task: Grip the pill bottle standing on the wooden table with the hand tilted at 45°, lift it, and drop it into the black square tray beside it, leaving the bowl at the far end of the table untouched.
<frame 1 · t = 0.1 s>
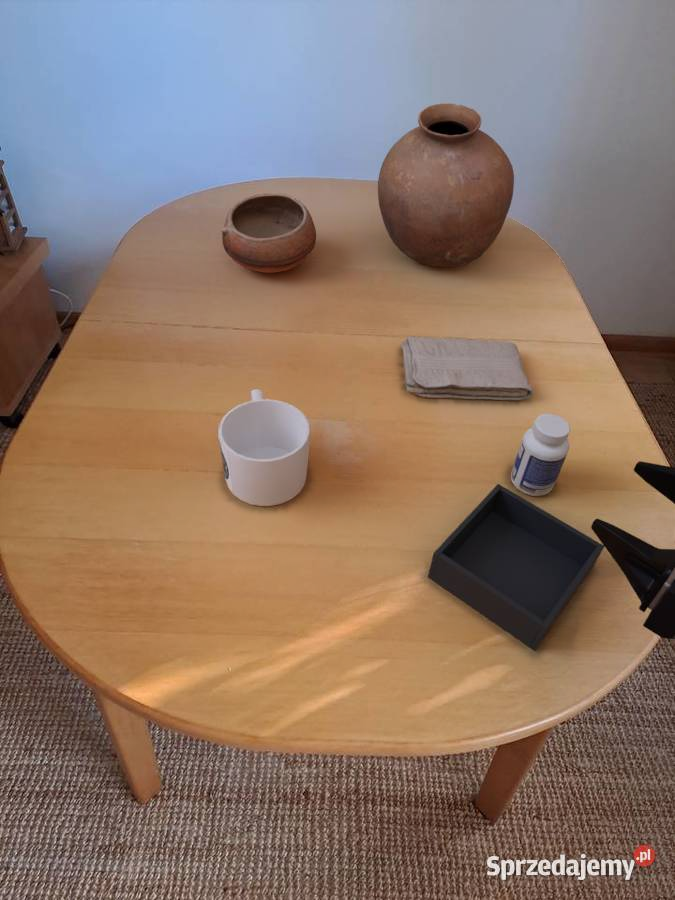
hand: (615, 492, 60), 17 cm above the table, tool horizontal, fingers open, 9 cm apart
pottery: (433, 255, 123), on the table
black square tray: (510, 573, 74), on the table
pill bottle: (531, 482, 84), on the table
bowl: (270, 263, 118), on the table
mug: (264, 469, 83), on the table
washcloth: (462, 375, 99), on the table
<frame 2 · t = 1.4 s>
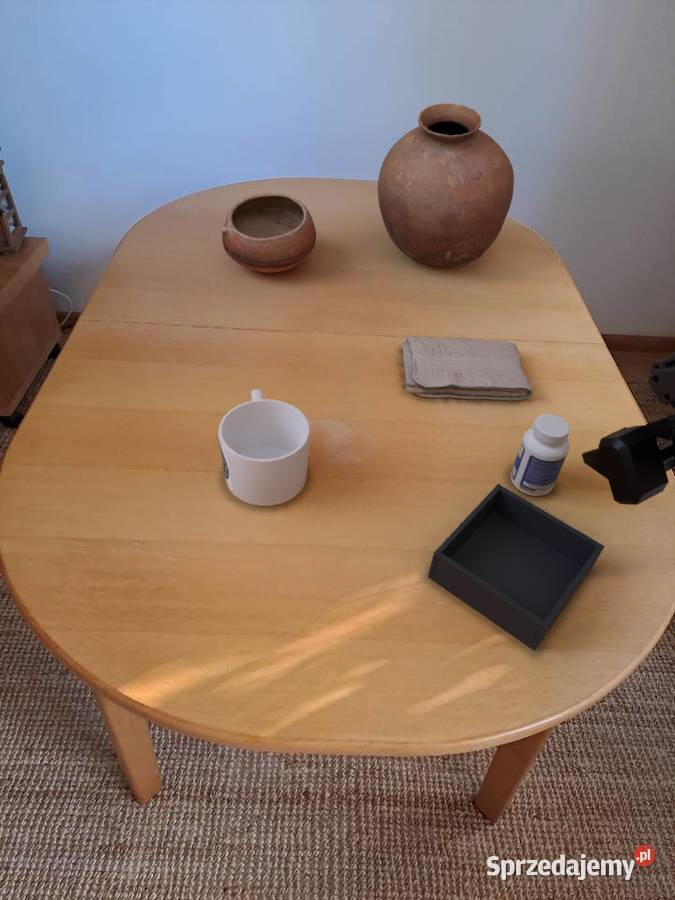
hand: (616, 443, 69), 14 cm above the table, tool tilted 45°, fingers open, 9 cm apart
nothing on the table moved.
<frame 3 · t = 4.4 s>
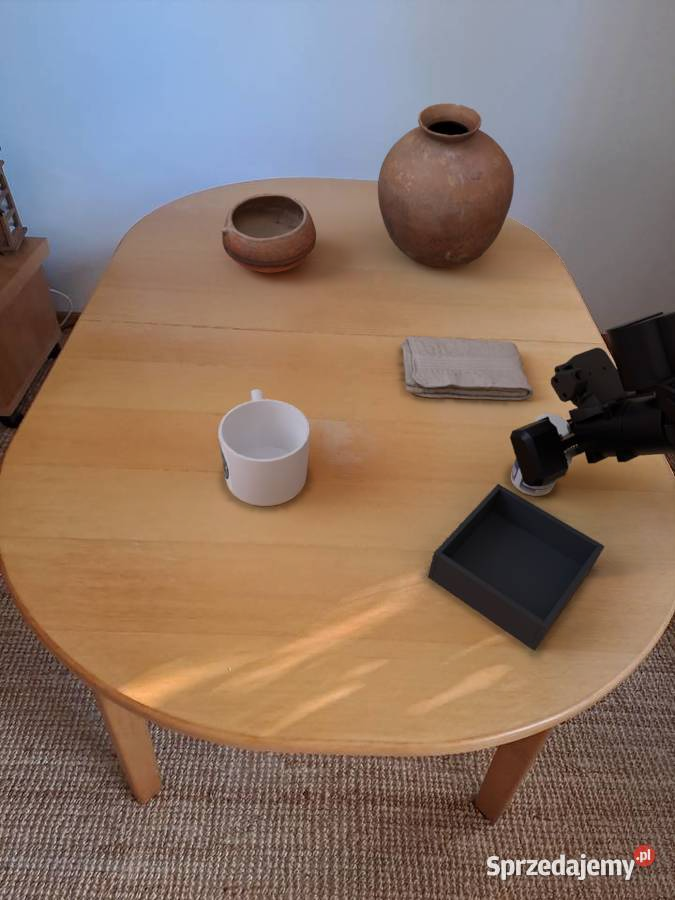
hand: (537, 436, 80), 7 cm above the table, tool tilted 45°, fingers closed on pill bottle, 5 cm apart
pill bottle: (531, 482, 84), on the table, touching gripper
everything else where it was.
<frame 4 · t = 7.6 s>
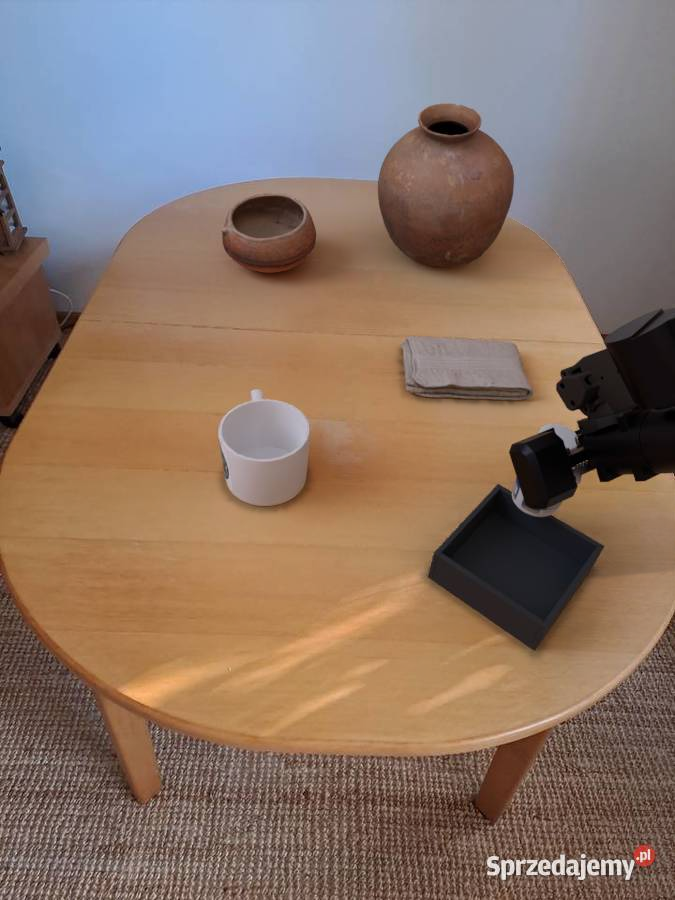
hand: (542, 450, 71), 12 cm above the table, tool tilted 45°, fingers closed on pill bottle, 5 cm apart
pill bottle: (534, 501, 74), point 5 cm above the table, touching gripper
everything else where it was.
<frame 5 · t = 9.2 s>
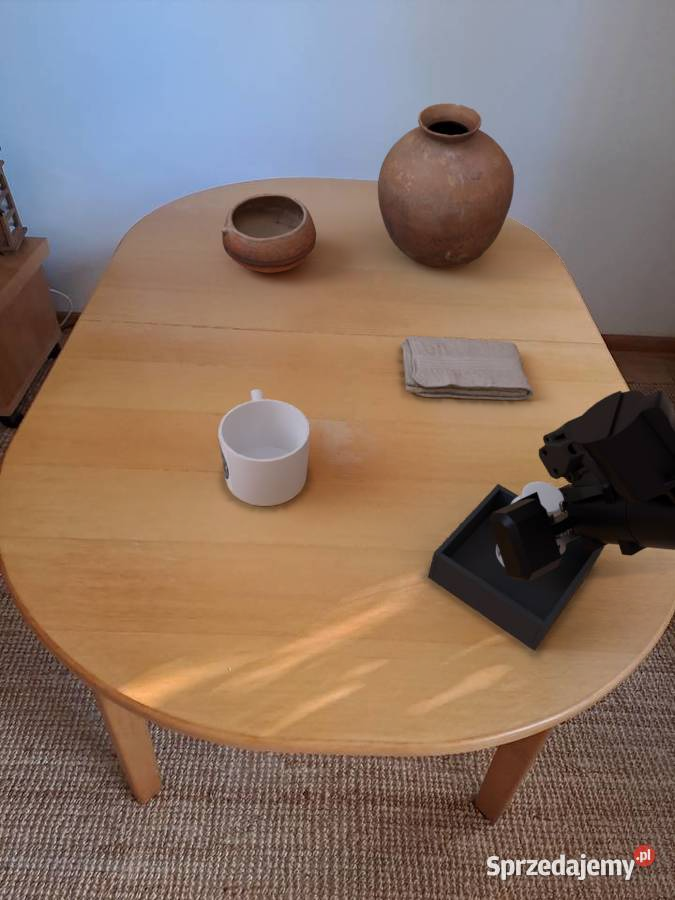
hand: (526, 507, 68), 10 cm above the table, tool tilted 45°, fingers closed on pill bottle, 5 cm apart
pill bottle: (519, 557, 72), point 3 cm above the table, touching gripper
everything else where it was.
when the fingers open (7 cm above the table, at t = 10.6 s): pill bottle stays where it is, resting on black square tray.
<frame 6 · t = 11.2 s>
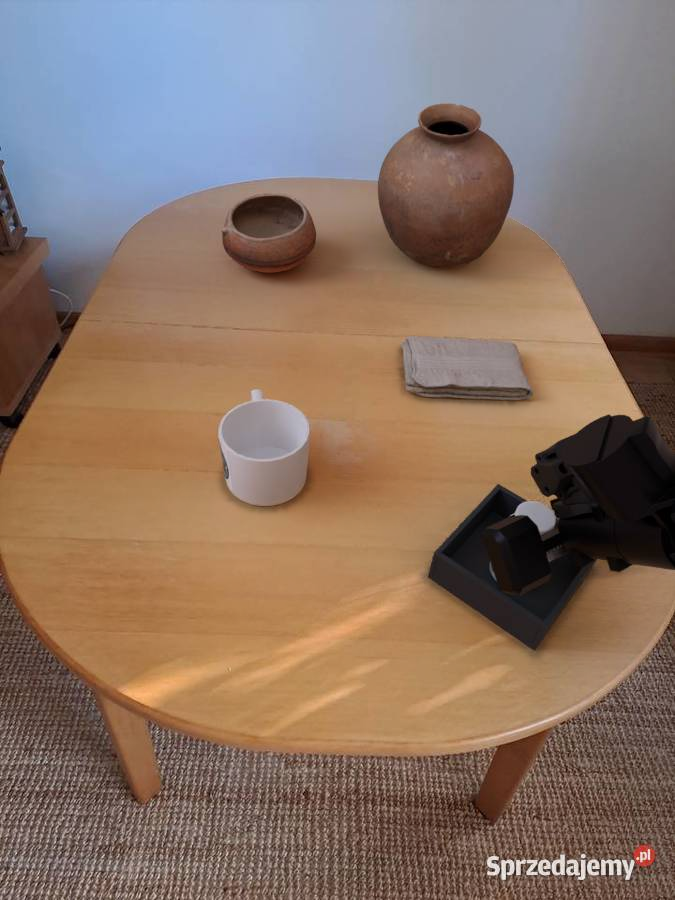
hand: (518, 520, 69), 8 cm above the table, tool tilted 45°, fingers open, 9 cm apart
pill bottle: (512, 572, 74), resting on black square tray
everything else where it was.
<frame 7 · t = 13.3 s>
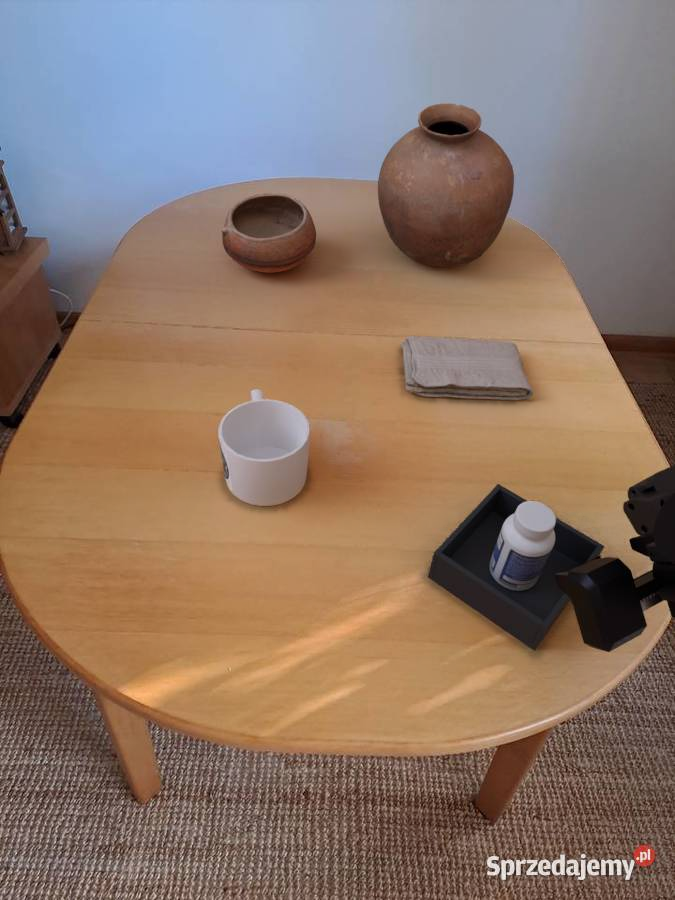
hand: (595, 560, 61), 12 cm above the table, tool tilted 45°, fingers open, 9 cm apart
nothing on the table moved.
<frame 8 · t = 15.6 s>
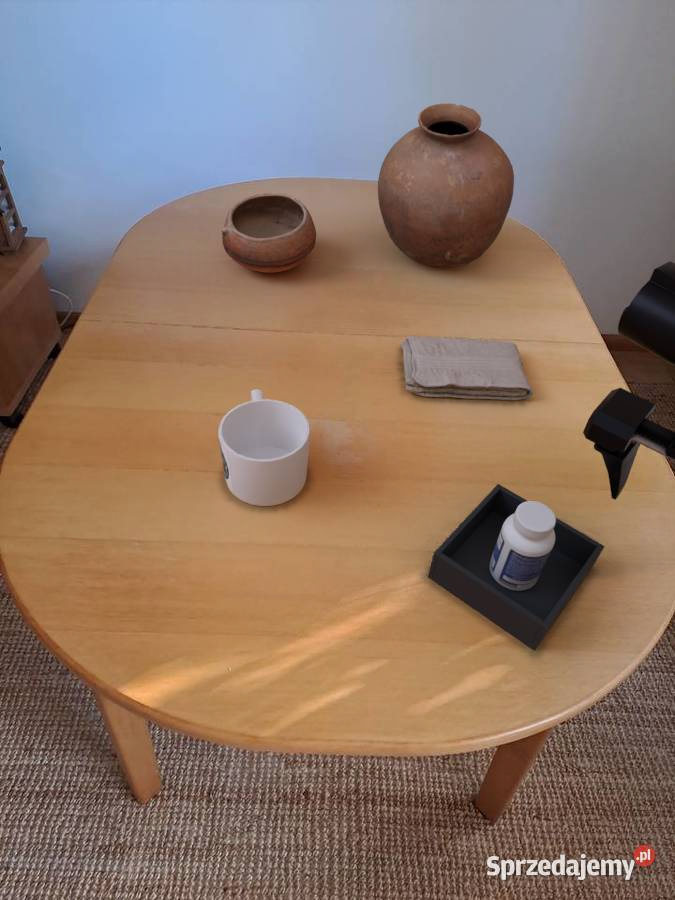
hand: (661, 521, 63), 13 cm above the table, tool pointing down, fingers open, 9 cm apart
nothing on the table moved.
at the end: pill bottle inside the target area in the black square tray (0.2 cm from its centre), point 0.3 cm above the black square tray's base; bowl moved 0.2 cm from its start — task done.
